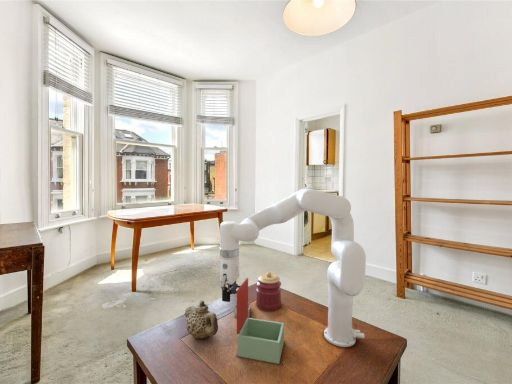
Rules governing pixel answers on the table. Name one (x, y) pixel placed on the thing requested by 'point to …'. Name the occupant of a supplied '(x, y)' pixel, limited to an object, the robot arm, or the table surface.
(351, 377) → the table surface
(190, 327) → the teapot
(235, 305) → the egg carton
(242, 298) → the lid
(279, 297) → the kitchen canister
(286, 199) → the robot arm
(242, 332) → the storage box
